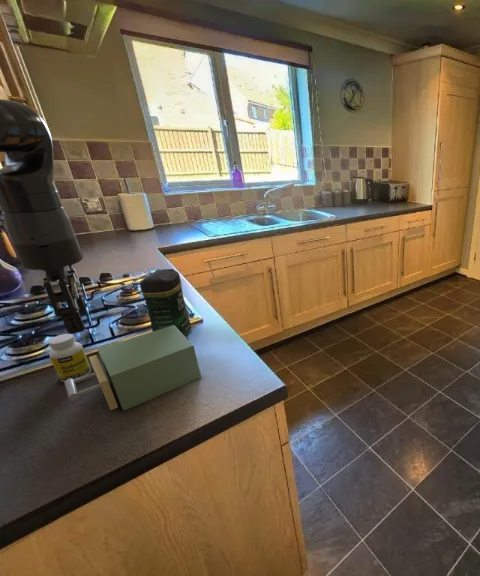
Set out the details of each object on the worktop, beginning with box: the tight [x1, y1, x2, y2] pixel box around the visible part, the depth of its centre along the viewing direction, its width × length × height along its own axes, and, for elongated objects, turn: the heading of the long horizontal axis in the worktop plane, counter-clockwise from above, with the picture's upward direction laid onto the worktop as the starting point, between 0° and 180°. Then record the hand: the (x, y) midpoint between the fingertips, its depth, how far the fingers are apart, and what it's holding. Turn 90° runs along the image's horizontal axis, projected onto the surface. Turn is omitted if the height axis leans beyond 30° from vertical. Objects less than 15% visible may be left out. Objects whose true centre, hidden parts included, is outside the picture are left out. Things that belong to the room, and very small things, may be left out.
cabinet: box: [97, 325, 202, 411], centre depth 72 cm, size 15×13×9 cm
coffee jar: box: [139, 268, 192, 338], centre depth 87 cm, size 10×8×19 cm
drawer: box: [64, 354, 119, 411], centre depth 69 cm, size 18×11×7 cm, turn 137°
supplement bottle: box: [48, 333, 92, 383], centre depth 72 cm, size 5×5×10 cm
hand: (78, 321), depth 61 cm, fingers open, 8 cm apart
